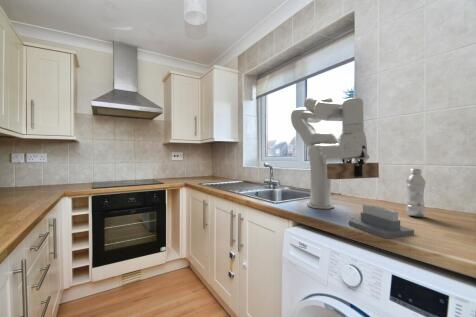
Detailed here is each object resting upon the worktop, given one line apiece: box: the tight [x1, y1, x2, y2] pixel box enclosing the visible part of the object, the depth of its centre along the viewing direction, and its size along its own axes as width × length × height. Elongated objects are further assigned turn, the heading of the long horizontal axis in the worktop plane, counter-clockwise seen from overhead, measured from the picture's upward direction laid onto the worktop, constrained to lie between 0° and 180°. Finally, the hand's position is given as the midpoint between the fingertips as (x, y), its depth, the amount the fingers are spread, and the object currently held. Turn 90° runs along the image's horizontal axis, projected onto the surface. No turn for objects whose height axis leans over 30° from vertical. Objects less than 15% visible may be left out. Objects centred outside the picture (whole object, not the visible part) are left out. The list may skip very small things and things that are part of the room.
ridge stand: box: [348, 203, 415, 239], centre depth 79 cm, size 15×12×8 cm
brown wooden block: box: [326, 162, 380, 180], centre depth 89 cm, size 22×4×6 cm, turn 109°
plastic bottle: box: [405, 168, 426, 218], centre depth 95 cm, size 6×7×20 cm
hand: (353, 175), depth 89 cm, fingers closed on brown wooden block, 4 cm apart
